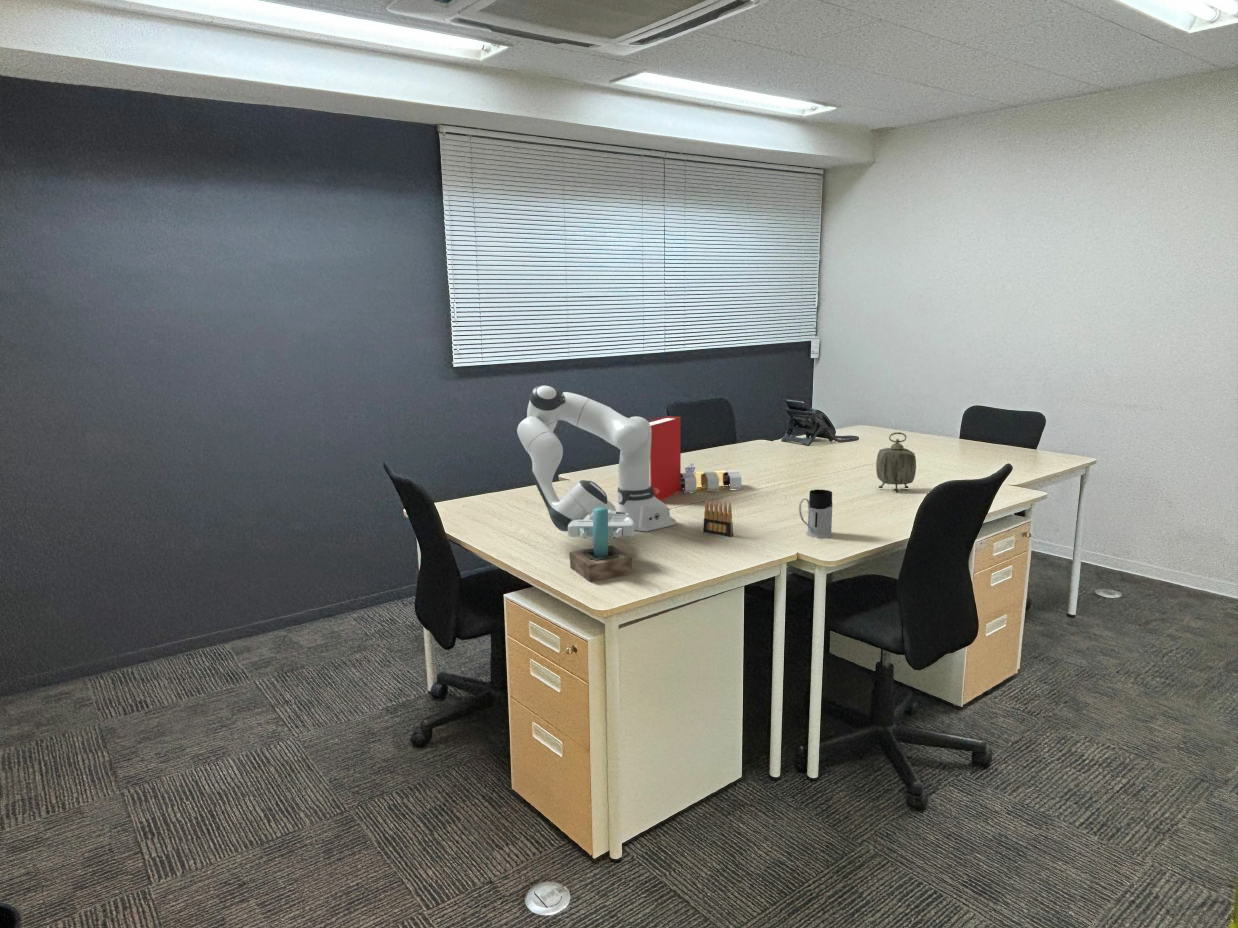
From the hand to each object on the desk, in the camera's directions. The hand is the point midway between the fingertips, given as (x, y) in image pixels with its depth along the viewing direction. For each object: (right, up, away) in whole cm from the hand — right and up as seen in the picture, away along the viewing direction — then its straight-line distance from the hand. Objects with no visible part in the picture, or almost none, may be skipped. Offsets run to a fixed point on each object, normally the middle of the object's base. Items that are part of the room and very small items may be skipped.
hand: (600, 535), depth 228 cm
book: (+22, +8, +95) cm, 98 cm away
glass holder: (+72, -4, +35) cm, 80 cm away
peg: (0, -10, +3) cm, 10 cm away
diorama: (+45, +10, +106) cm, 115 cm away
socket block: (0, -11, +3) cm, 11 cm away
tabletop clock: (+122, +10, +97) cm, 156 cm away
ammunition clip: (+40, -3, +39) cm, 56 cm away
